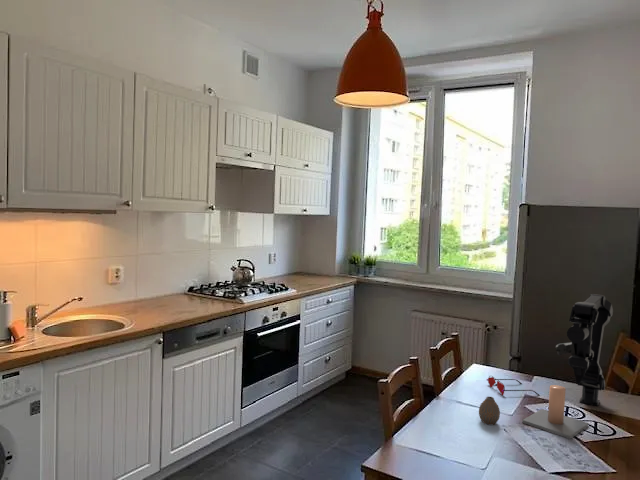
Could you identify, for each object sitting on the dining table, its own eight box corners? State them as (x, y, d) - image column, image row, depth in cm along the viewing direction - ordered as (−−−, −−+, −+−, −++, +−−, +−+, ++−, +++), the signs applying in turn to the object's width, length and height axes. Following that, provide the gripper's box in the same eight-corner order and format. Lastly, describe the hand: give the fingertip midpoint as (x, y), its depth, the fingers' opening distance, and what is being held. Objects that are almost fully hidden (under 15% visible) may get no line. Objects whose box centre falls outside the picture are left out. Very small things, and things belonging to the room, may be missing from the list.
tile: (541, 411, 189) (541, 408, 189) (588, 425, 177) (588, 423, 177) (522, 422, 178) (522, 419, 178) (570, 438, 166) (570, 435, 166)
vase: (500, 427, 173) (502, 402, 172) (479, 425, 174) (480, 400, 174) (497, 419, 180) (499, 395, 179) (477, 417, 181) (478, 393, 180)
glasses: (485, 385, 217) (486, 373, 217) (521, 384, 220) (522, 373, 219) (501, 397, 203) (502, 384, 203) (540, 396, 206) (541, 384, 205)
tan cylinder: (545, 417, 180) (547, 384, 180) (560, 419, 180) (562, 385, 179) (550, 423, 175) (552, 389, 175) (565, 425, 175) (567, 390, 174)
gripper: (562, 329, 197) (559, 369, 198) (553, 338, 182) (551, 381, 183) (595, 334, 191) (592, 375, 192) (588, 344, 175) (585, 389, 176)
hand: (579, 380), depth 186 cm, fingers open, 9 cm apart
